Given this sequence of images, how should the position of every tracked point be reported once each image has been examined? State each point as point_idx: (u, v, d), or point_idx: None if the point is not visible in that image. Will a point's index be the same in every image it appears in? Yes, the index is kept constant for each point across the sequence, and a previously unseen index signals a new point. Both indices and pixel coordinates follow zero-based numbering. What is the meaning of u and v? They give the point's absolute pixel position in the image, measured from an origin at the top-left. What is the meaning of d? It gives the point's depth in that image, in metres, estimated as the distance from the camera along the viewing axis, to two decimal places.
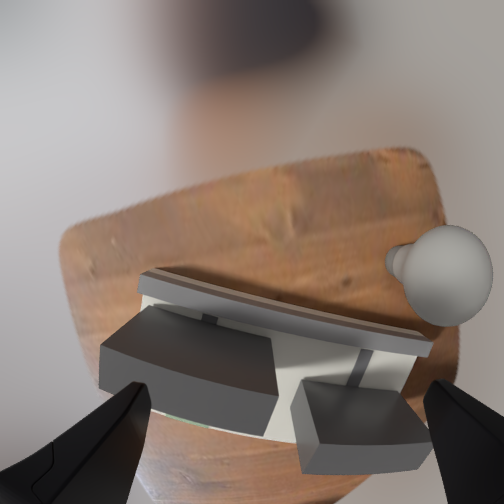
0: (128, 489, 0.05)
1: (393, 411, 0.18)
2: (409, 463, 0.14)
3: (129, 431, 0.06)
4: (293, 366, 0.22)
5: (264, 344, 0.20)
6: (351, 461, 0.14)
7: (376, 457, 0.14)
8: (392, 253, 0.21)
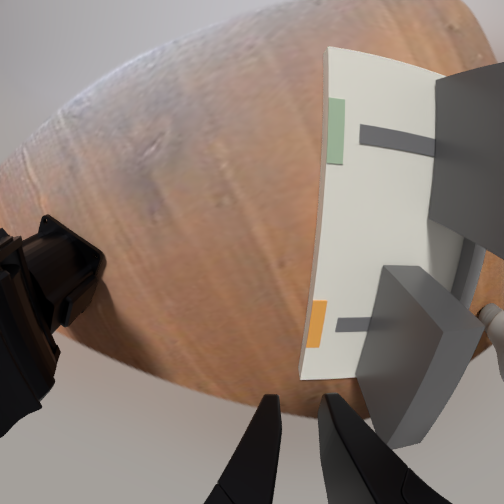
0: None
1: None
2: (401, 437, 0.13)
3: None
4: (429, 252, 0.18)
5: None
6: (444, 375, 0.11)
7: (437, 396, 0.12)
8: None
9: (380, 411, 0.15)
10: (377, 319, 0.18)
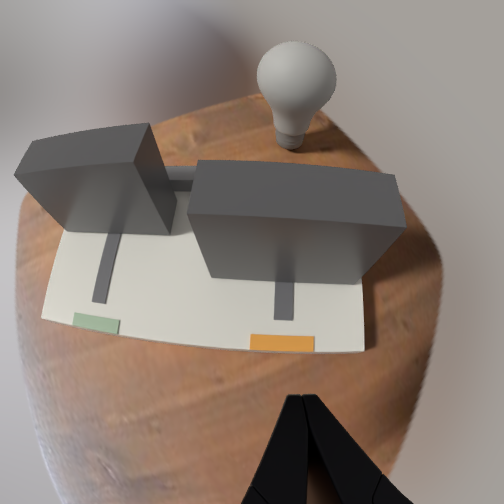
0: None
1: None
2: (377, 208, 0.12)
3: None
4: None
5: None
6: (257, 187, 0.12)
7: (297, 182, 0.13)
8: None
9: (359, 248, 0.14)
10: (266, 275, 0.18)
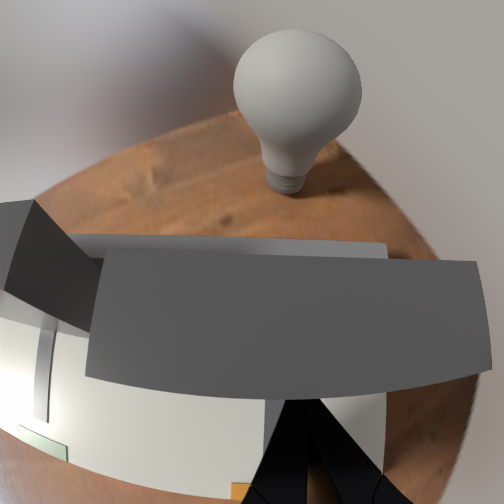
0: None
1: None
2: (454, 344, 0.05)
3: None
4: None
5: None
6: (220, 324, 0.06)
7: (307, 307, 0.06)
8: None
9: None
10: None
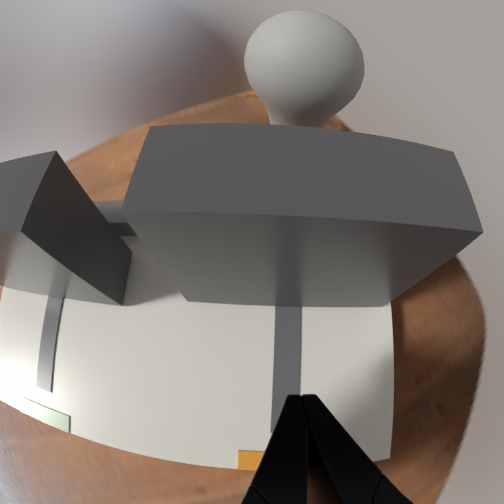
0: None
1: None
2: (441, 200, 0.07)
3: None
4: (172, 295, 0.14)
5: None
6: (244, 163, 0.07)
7: (313, 156, 0.07)
8: None
9: (406, 263, 0.08)
10: (263, 300, 0.13)
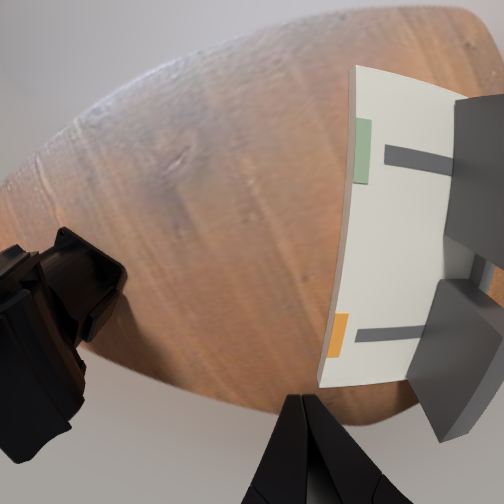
0: None
1: None
2: (456, 429, 0.13)
3: None
4: (443, 266, 0.18)
5: None
6: (497, 372, 0.12)
7: (489, 391, 0.12)
8: None
9: (437, 408, 0.16)
10: (433, 327, 0.18)
